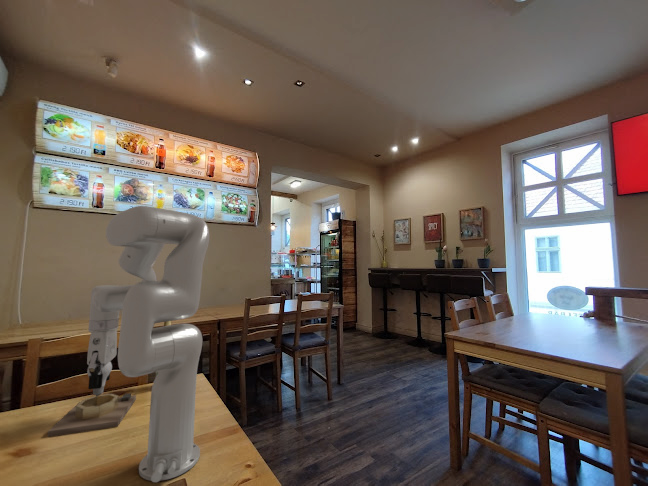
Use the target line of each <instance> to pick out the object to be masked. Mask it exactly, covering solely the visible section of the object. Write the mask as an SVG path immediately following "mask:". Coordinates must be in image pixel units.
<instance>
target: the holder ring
mask: <svg viewBox="0 0 648 486" xmlns="http://www.w3.org/2000/svg"><path fill="white" fill-rule="evenodd" d="M119 397H120V396H119V395H117V394H115V393H106V394H105V393H104V394H103V393H102V394H100V395H99V396H96V395H93V396H91V397H87V398H85V399H82V400H81V401H79V402H80V403H79V402H78V403H79V404H78V403H77V404H78V405H77V404H76V405H77V406H76V405H75V406H76V414H75V417H77V418H80V419H82V420H84V419H91V418H99V417H101V416H104V415H106V414H109V413H111V412H114V410H115V409H116V408H117V407H118V400H119Z"/></svg>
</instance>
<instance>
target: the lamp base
mask: <svg viewBox="0 0 648 486" xmlns="http://www.w3.org/2000/svg"><path fill="white" fill-rule="evenodd" d="M136 399H137V394H135V395H134V394H133V395H132V393H131V392H130V393H124V394H123V395H122V396H119V400H118V407H117V408H116V409H115V410H114V412H111V413H109V414H106V415H104V416H101V417H99V418H91V419H84V420H82V419H80V418H77V417H75V414H76V406H77V405H78V404H79V403H80V402H81V401H79V402H78V403H77V404H76V405H75V406H73V407H72V408H71V409H70V410H69V411H67V413H66V414H65V415H64V416H62V417H61V419H59V420H58V421H57V422H56V423H55V424H54V425H53V426H52V427H51V428H50V429H49V430H48V431H47V438H51V437H56V436H63V435H64V436H65V435H70V434H76V433H77V434H78V433H84V432H91V431H97V430H105V429H110V428H111V429H112V428H117V427H119V425H120V424H121V423H122V421H123V419H124V418H125V417H126V415H127V413H129V410H130V409H131V408H132V406H133V405H134V404H135V401H136Z"/></svg>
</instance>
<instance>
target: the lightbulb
mask: <svg viewBox="0 0 648 486" xmlns="http://www.w3.org/2000/svg"><path fill="white" fill-rule="evenodd" d="M96 364H101V363H100V362H96ZM96 367H98V369H99V366H96ZM112 369H113V364H112V361H111V362H110V361H109V362H108V363H107V364H103V368H102V373H101V374H103V379H102V387H101V388H98V389H92V395H93V396H99V395H103V393H104V390H105V389H104V388H105V386H106V379H107V377H108V375H109V374H110V375H111V372H112ZM86 372H87V376H88V377H89V372H90V370H89V369H88V368H87V371H86Z"/></svg>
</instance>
